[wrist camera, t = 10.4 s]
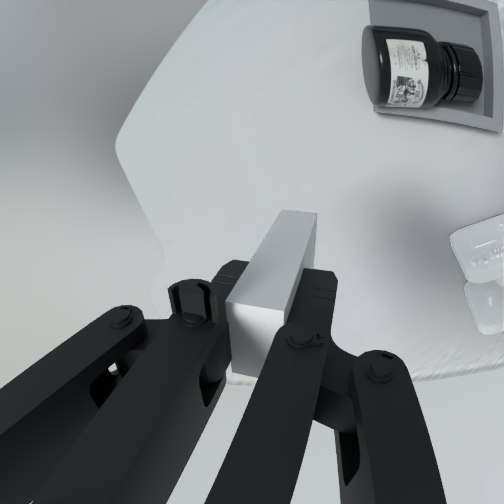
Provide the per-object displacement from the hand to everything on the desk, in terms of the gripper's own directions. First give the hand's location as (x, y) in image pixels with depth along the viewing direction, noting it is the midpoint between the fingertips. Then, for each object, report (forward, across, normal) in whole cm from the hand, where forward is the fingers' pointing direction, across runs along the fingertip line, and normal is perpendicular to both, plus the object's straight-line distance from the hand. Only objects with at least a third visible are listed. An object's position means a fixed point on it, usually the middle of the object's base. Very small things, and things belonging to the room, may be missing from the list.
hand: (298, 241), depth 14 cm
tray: (+28, -12, -13) cm, 33 cm away
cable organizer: (+28, -25, +10) cm, 39 cm away
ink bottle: (+22, -3, -10) cm, 24 cm away
